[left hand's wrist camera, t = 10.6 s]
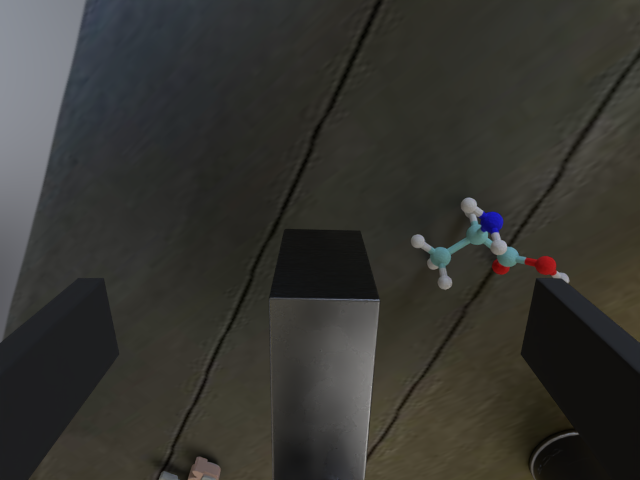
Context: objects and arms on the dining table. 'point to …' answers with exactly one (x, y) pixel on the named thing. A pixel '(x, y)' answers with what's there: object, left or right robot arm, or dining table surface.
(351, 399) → the bar
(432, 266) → the molecular model
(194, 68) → the dining table surface
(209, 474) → the clamp
